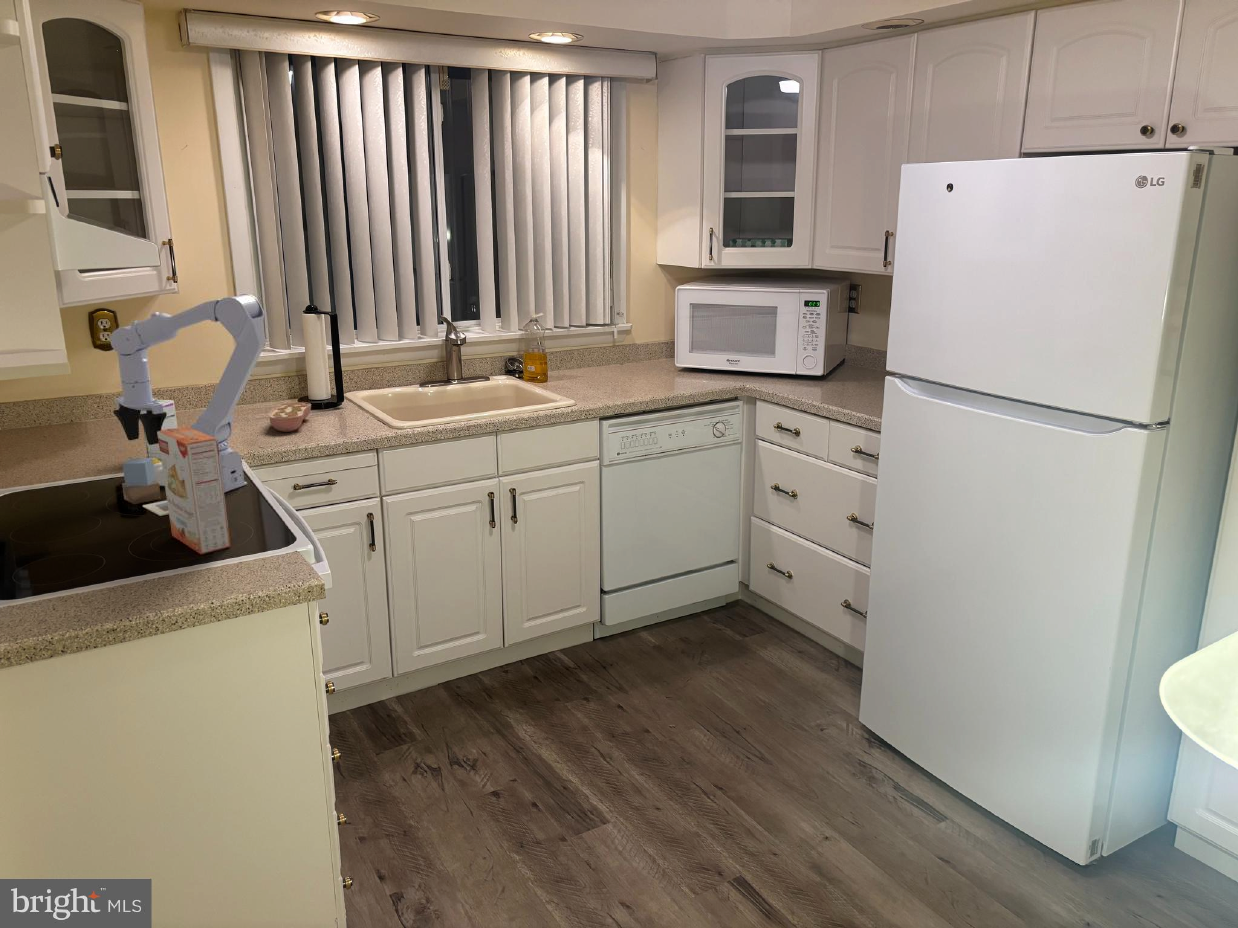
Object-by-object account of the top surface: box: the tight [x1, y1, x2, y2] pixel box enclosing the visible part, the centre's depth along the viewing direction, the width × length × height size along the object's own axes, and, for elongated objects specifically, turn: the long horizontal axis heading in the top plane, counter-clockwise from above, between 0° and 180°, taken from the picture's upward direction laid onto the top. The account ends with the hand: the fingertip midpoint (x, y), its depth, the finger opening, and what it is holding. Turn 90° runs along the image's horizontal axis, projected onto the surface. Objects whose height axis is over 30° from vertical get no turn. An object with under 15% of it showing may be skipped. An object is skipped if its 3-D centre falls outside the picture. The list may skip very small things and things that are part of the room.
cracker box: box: [157, 426, 232, 555], centre depth 171 cm, size 14×6×21 cm, turn 45°
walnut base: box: [121, 481, 162, 505], centre depth 200 cm, size 6×6×4 cm
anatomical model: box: [268, 401, 312, 433], centre depth 270 cm, size 23×10×5 cm, turn 9°
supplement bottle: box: [152, 458, 165, 487], centre depth 211 cm, size 5×5×10 cm
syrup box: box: [140, 399, 178, 461], centre depth 233 cm, size 6×6×14 cm
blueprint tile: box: [142, 499, 169, 517], centre depth 194 cm, size 9×6×1 cm, turn 47°
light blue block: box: [121, 457, 155, 487], centre depth 199 cm, size 4×4×5 cm
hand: (143, 441), depth 207 cm, fingers open, 7 cm apart
